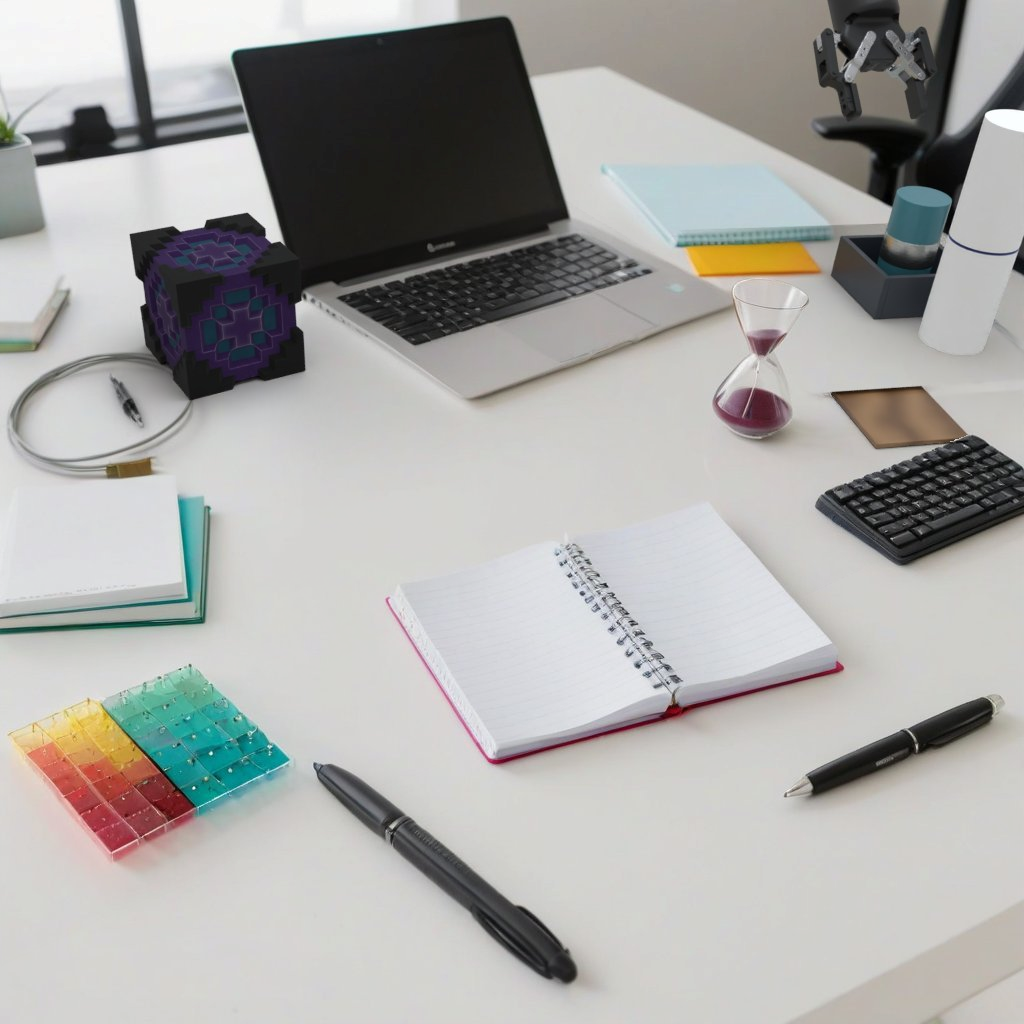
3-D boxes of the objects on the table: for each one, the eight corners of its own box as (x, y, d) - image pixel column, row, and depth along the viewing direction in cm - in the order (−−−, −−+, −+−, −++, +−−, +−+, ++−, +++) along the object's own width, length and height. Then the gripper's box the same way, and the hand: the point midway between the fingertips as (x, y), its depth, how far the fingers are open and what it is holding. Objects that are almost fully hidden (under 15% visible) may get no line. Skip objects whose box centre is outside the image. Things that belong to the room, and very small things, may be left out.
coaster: (918, 388, 120) (920, 384, 120) (969, 441, 112) (970, 437, 112) (830, 394, 118) (831, 390, 118) (875, 448, 110) (877, 444, 110)
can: (906, 281, 138) (935, 185, 131) (932, 305, 134) (962, 206, 126) (860, 283, 137) (886, 186, 130) (884, 307, 132) (912, 207, 125)
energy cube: (189, 400, 109) (175, 284, 102) (145, 345, 117) (129, 233, 110) (305, 370, 115) (299, 258, 108) (256, 319, 123) (247, 212, 116)
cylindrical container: (916, 356, 125) (988, 127, 110) (914, 327, 131) (982, 105, 116) (984, 367, 124) (1066, 138, 109) (979, 337, 130) (1056, 115, 115)
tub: (913, 278, 142) (927, 232, 138) (961, 322, 133) (977, 274, 129) (828, 282, 139) (840, 235, 136) (871, 327, 130) (885, 278, 127)
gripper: (822, -33, 129) (850, 103, 127) (930, -34, 133) (960, 99, 131) (789, 5, 136) (816, 135, 134) (893, 3, 140) (920, 130, 138)
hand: (887, 117), depth 133 cm, fingers open, 8 cm apart
